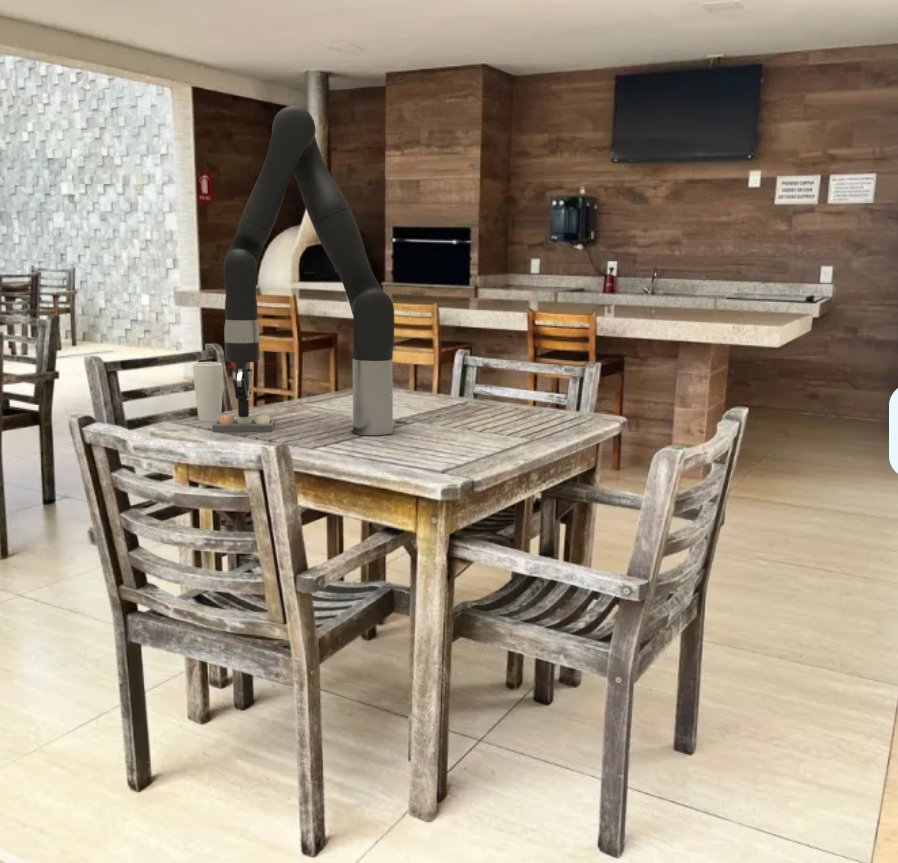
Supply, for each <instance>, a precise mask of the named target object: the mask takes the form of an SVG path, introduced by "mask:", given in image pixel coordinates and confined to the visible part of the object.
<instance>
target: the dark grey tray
mask: <svg viewBox="0 0 898 863" xmlns="http://www.w3.org/2000/svg"><path fill="white" fill-rule="evenodd" d="M275 428H276V419H275V418H270V424H255V418H252V424H238V423H237V419H236V418H234V424H220V422H219V419H218V420H217V421H214V423H213V424H212V433H273V431H274V429H275Z"/></svg>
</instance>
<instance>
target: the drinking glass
mask: <svg viewBox="0 0 898 863" xmlns="http://www.w3.org/2000/svg"><path fill="white" fill-rule="evenodd" d="M192 374H193V384H194V385H193V386H194V392H195V401H196V409H197V410H196V411H197V418H198V421H200V422H216V421H217V420H218V419H219V416H222V408H223V406H222V405H223V389H224V387H223V386H224V370H223V363H222V362H219V361H198V362H194V363H193V373H192Z"/></svg>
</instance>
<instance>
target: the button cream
mask: <svg viewBox="0 0 898 863" xmlns="http://www.w3.org/2000/svg"><path fill="white" fill-rule="evenodd" d="M254 419H255V424H270V419H271V418H270V415H260V414H259V415H255V417H254Z"/></svg>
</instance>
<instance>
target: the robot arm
mask: <svg viewBox="0 0 898 863" xmlns="http://www.w3.org/2000/svg"><path fill="white" fill-rule="evenodd" d="M271 124H272V125H271V137H270V142H269V146H268V150H267V153H266V157H265V159H264V163H263V166H262V168H261V171H260V174H259V175H258V177H257V179H256V182H255V184H254V186H253V188H252V191H251V193H250V195H249V197H248V199H247V202H246V204H245V207H244V210H243V212H242V214H241V217H240V219H239V222H238V226H237V231H236V233H235V236H234V238H233V240H232V242H231V245H230V247H229V249H228V251H227V253H226V254H225V255H226V256H225V257H224V260H223V276H224V287H225V300H224V316H225V317H224V318H225V320H224V321H225V323H224V330H223V331H224V332H223V333H224V358H225V359H224V360H225V361H226V362H229V363H235V367H234V369H233V370H232V378H233V380H232V383H233V388H234V394H235V396H234V397H235V399H236V400H237V406H238V407H237V408H238V409H237V410H238V411H237V414H238V415H237V416H239V417H248V415H250V399H251V394H252V388H253V387H252V386H253V380H252V379H253V375H254V374H253V373H254V371H253V368H251V366H250V363H255V362H259V361H260V329H259V328H260V327H259V320H258V319H259V318H258V317H259V316H258V302H257V300H258V299H257V267H258V265H259V264H258V263H259V261H260V259H261V258H260V257H261V255H262V253H263V250H264V247H265V244H266V243H267V241H268V239H269V237H270V236H271V233H272V230H273V228H274V226H275V224H276V221H277V219H278V216H279V213H280V210H281V207H282V204H283V200H284V198H285V195H286V192H287V188H288V185H289V182H290V181H291V179H292V178H291V177H292V176H294V178H295V181H296V182H297V186H298V188H299V191H300V192H299V193H300V195H301V198H302V201H303V204H304V206H305V209H306V211H307V215H308V217H309V219H310V222H311V225H312V226H313V229H314V232H315V233H316V236H317V238H318V240H319V242H320V244H321V246H322V248H323V250H324V252H325V254H326V255H327V257H328V259H329V260H330V262H331V264H332V265H333V267H334V268H335V270H336V272H337V275H338V276H339V278H340V280H341V283H342V285H343V288H344V292H345V294H346V297H347V300H348V304H349V307H350V310H351V314H352V318H353V319H352V320H353V321H352V322H353V326H352V327H353V329H352V331H353V332H352V333H353V335H352V336H353V339H352V343H353V344H352V432H353V433H354V434H357V435H363V436H381V435H382V436H383V435H393V432H394V431H393V430H394V429H393V428H394V427H393V426H394V424H393V423H394V422H393V421H394V418H393V414H394V413H393V410H394V407H393V406H394V405H393V404H394V400H393V398H394V396H393V395H394V394H393V356H394V353H393V352H394V346H395V345H394V344H395V307H394V302H393V299H392V298H391V297H390V296H389V295H388V294H387V293H386V292H384V291H383V289H382V287H381V285H380V283H379V282H378V280H377V278H376V277H375V274H374V272H373V270H372V268H371V266H370V264H369V261H368V258H367V254H366V250H365V245H364V241H363V239H362V235H361V231H360V229H359V226H358V223H357V220H356V218H355V216H354V214H353V212H352V210H351V208H350V205H349V202H348V201H347V199H346V197H345V195H344V193H343V192H342V190H341V189H340V187H339V186H338V184H337V183H336V182H337V181H335V179H334V178H333V176H332V175H331V173H330V171H329V170H328V168H327V166H326V164H325V162H324V159H323V156H322V154H321V151H320V148H319V145H318V142H317V138H316V123H315V120H314V118H313V116H312V115H311V113H310V112H309V111H308V110H306V109H305V108H304V107H302V106H298V105H290V106H289V105H288V106H286V107H283V108H282V109H280V110H279V111H278V112H277V114H276V115H275V116H274V118H273V122H272V123H271Z"/></svg>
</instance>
